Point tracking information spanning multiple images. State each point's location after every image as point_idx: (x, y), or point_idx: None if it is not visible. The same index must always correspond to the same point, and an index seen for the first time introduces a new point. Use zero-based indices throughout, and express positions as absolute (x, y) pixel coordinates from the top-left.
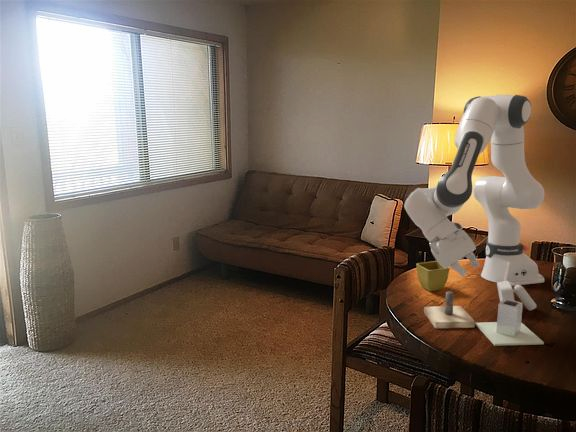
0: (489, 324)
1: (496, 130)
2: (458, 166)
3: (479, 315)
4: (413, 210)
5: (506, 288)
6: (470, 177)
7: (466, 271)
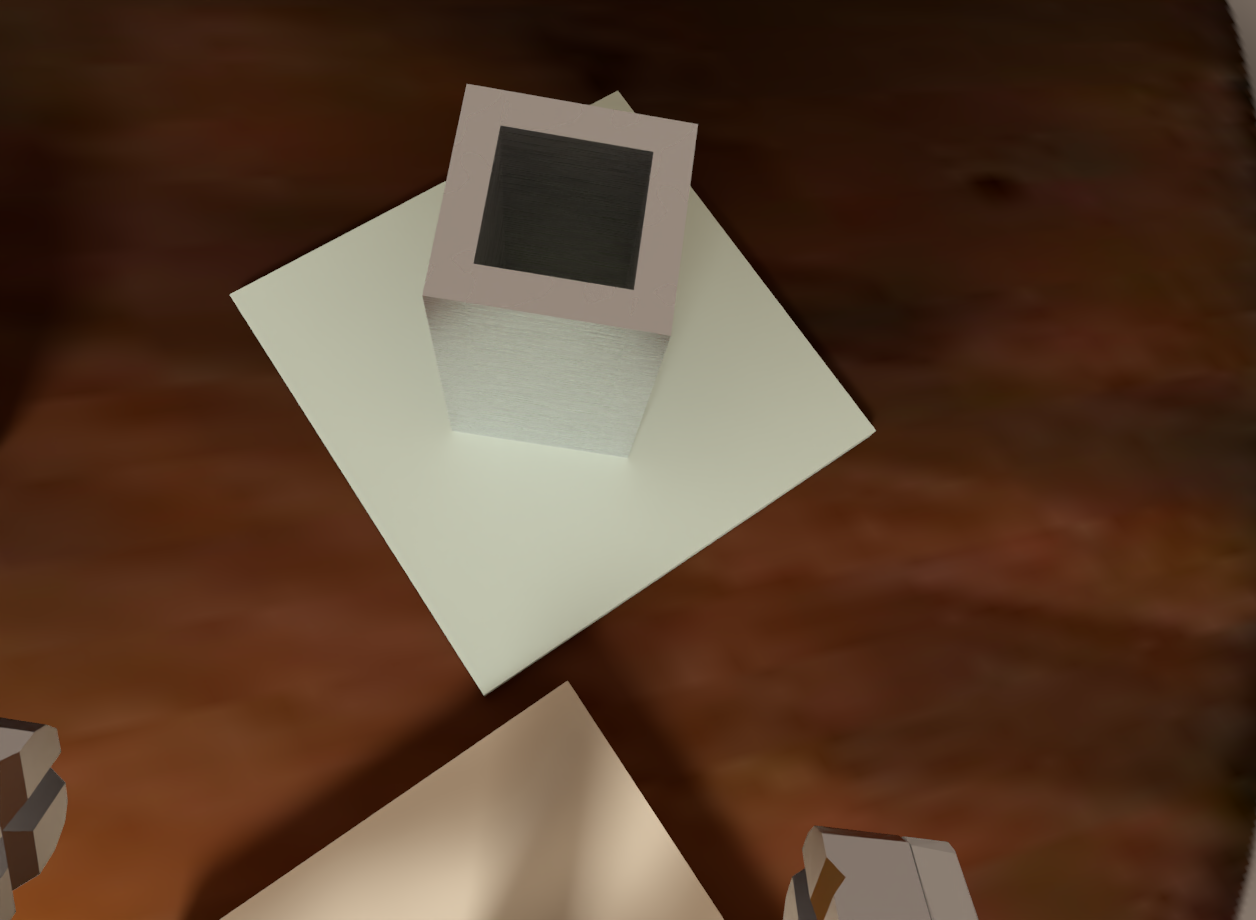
0: (459, 551)
1: None
2: None
3: (194, 713)
4: None
5: None
6: None
7: (872, 857)
